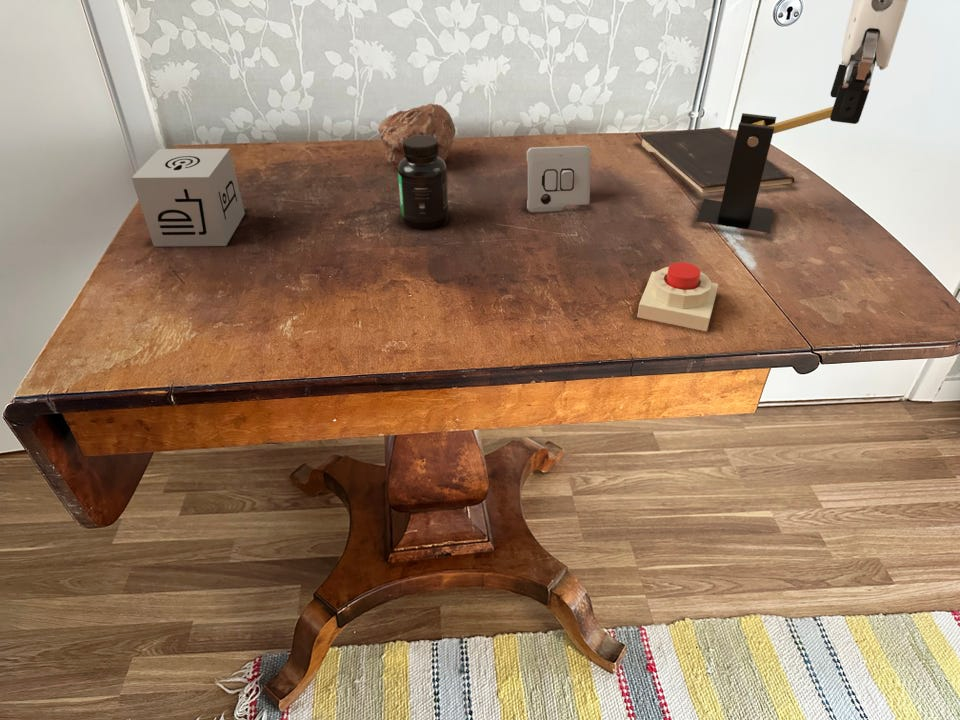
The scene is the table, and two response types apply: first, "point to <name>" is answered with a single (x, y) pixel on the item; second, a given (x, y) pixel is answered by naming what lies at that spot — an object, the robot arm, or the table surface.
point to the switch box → (678, 302)
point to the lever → (799, 120)
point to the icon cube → (189, 197)
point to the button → (683, 276)
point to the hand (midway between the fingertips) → (843, 109)
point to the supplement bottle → (422, 184)
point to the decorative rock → (416, 130)
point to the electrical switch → (558, 177)
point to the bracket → (744, 179)
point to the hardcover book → (705, 157)
